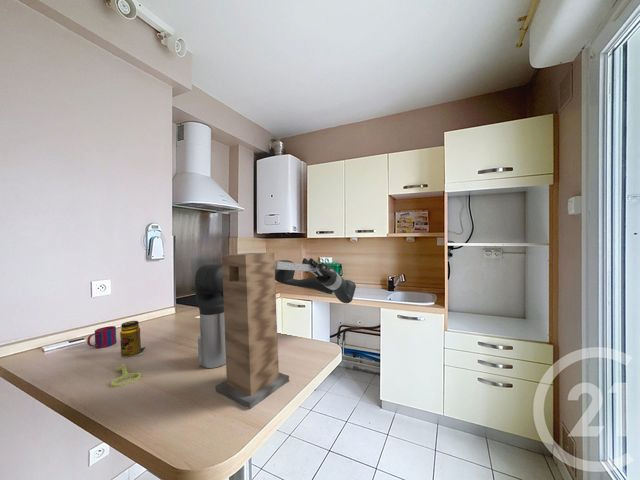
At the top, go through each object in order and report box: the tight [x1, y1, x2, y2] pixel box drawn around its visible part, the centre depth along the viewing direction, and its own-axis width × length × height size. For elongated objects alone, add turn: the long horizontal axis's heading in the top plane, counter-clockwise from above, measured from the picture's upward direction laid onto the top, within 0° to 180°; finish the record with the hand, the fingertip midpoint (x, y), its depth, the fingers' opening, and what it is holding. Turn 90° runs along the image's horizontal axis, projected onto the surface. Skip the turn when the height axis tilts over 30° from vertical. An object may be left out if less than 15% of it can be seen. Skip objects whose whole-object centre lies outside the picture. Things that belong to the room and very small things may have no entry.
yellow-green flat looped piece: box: [110, 363, 142, 388], centre depth 77 cm, size 7×12×2 cm, turn 60°
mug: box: [86, 325, 117, 349], centre depth 103 cm, size 7×10×7 cm
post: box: [215, 252, 290, 410], centre depth 70 cm, size 14×14×37 cm
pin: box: [274, 260, 317, 273], centre depth 88 cm, size 24×2×2 cm, turn 145°
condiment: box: [117, 320, 147, 360], centre depth 95 cm, size 7×8×12 cm
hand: (306, 260), depth 92 cm, fingers closed on pin, 2 cm apart
